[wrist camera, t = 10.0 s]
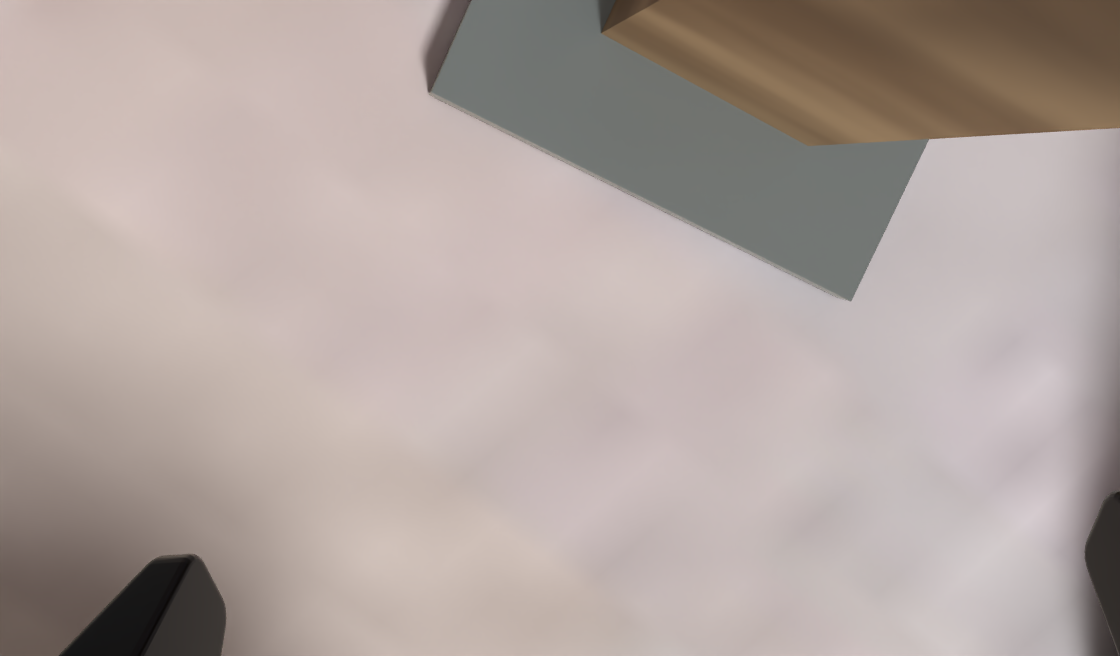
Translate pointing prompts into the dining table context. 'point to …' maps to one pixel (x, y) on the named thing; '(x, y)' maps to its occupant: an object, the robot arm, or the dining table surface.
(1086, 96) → the walnut block
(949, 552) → the dining table surface
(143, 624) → the robot arm
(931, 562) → the dining table surface
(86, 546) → the dining table surface
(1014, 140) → the dining table surface
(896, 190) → the slate coaster
